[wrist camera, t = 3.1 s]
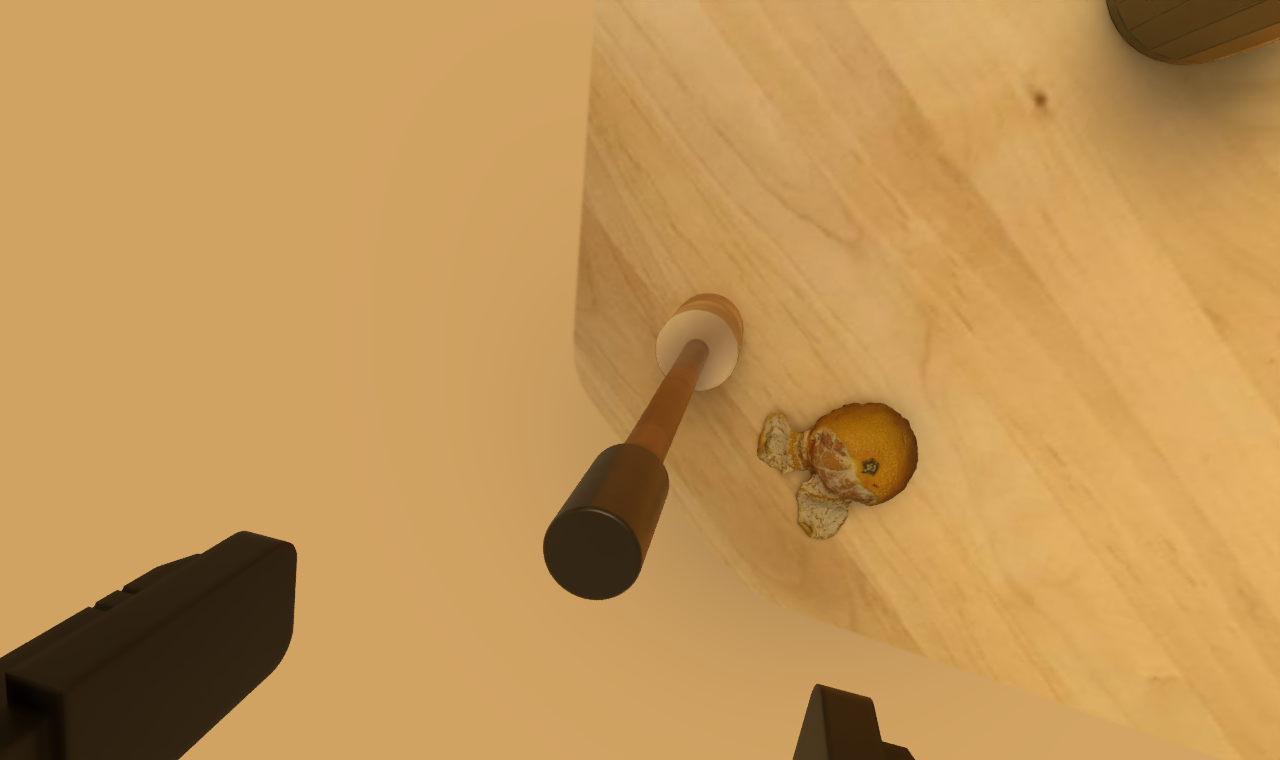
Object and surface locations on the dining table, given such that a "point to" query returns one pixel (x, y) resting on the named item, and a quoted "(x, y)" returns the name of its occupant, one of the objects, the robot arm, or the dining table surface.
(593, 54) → the dining table surface
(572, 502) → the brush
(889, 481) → the fruit
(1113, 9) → the cup
